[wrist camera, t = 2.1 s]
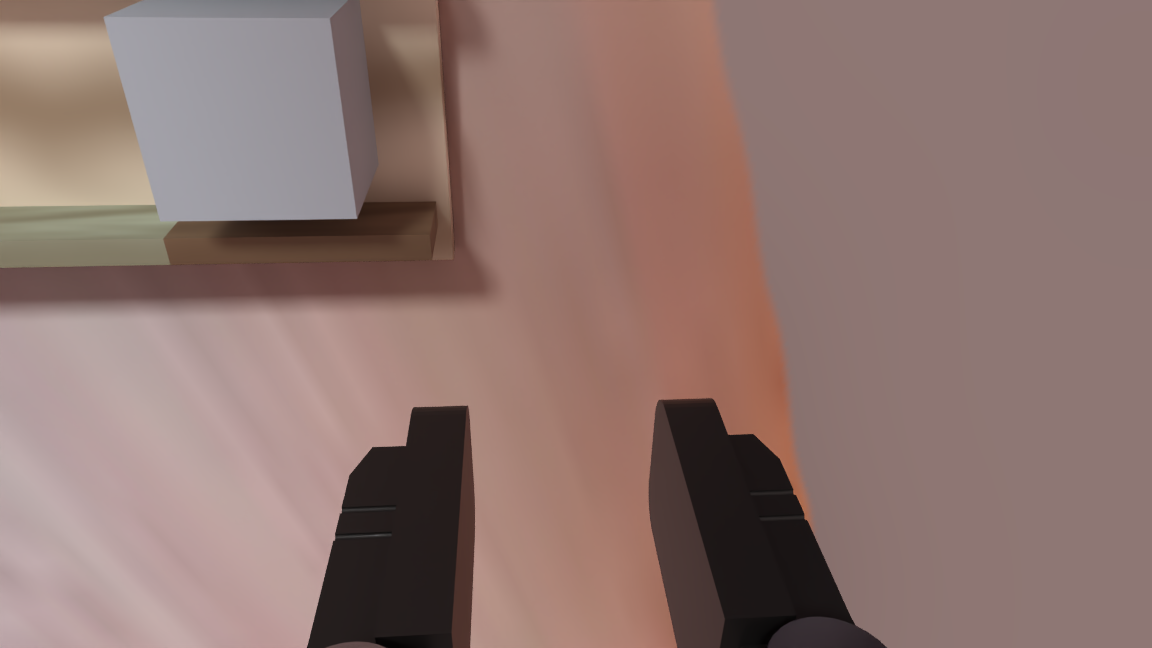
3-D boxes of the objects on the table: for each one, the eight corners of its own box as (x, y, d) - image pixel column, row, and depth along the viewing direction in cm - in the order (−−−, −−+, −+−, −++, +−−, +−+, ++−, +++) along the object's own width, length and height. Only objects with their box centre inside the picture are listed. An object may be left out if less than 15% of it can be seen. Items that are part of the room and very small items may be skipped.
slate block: (170, -12, 25) (103, 16, 21) (358, -10, 26) (329, 18, 22) (211, 165, 29) (160, 221, 24) (378, 164, 29) (357, 218, 25)
